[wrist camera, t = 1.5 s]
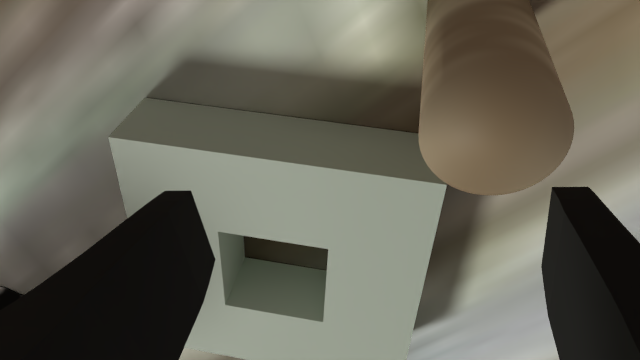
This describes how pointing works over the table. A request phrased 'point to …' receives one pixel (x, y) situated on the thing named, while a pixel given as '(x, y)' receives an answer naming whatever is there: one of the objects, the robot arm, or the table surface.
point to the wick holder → (292, 225)
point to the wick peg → (490, 98)
